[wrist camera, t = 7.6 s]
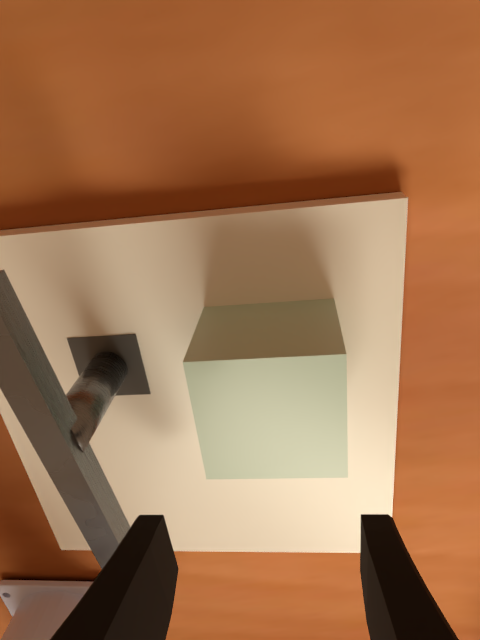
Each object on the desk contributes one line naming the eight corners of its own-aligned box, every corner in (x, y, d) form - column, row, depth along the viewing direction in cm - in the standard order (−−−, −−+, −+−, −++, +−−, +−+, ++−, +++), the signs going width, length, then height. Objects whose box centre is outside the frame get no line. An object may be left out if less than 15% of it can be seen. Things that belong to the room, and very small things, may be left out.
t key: (71, 228, 16) (-11, 281, 12) (174, 483, 22) (145, 585, 18) (32, 237, 17) (-62, 292, 12) (144, 486, 22) (107, 588, 18)
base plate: (386, 535, 24) (390, 554, 23) (68, 534, 26) (60, 550, 25) (401, 191, 16) (408, 198, 15) (-58, 235, 18) (-76, 243, 17)
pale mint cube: (336, 405, 19) (347, 477, 16) (221, 409, 20) (206, 479, 16) (334, 298, 17) (346, 354, 13) (203, 306, 18) (182, 362, 14)
